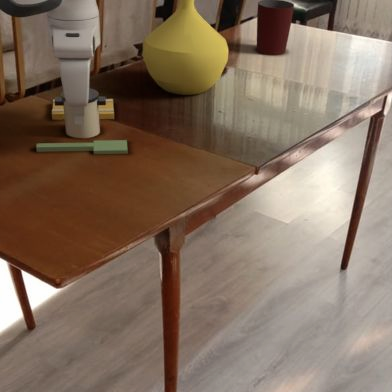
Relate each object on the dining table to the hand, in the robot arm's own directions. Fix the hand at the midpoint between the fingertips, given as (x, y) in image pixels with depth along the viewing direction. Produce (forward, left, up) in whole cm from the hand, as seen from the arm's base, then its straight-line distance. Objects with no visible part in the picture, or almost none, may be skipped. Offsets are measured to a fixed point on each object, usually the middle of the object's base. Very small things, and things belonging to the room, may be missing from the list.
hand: (80, 113), depth 116 cm
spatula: (0, -8, -4) cm, 9 cm away
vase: (+22, +24, -4) cm, 33 cm away
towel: (0, +10, -4) cm, 11 cm away
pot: (0, 0, -4) cm, 4 cm away
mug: (+48, +52, -4) cm, 71 cm away
